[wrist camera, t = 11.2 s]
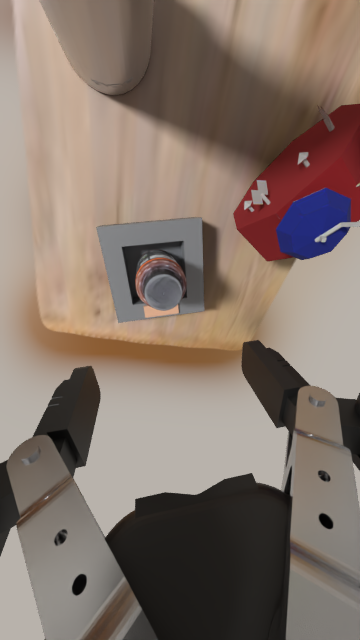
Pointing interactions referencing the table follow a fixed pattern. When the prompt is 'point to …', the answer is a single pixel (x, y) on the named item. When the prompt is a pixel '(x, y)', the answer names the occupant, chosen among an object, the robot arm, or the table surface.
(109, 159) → the table surface
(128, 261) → the socket holder
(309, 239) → the alarm clock
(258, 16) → the table surface
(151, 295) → the supplement bottle
